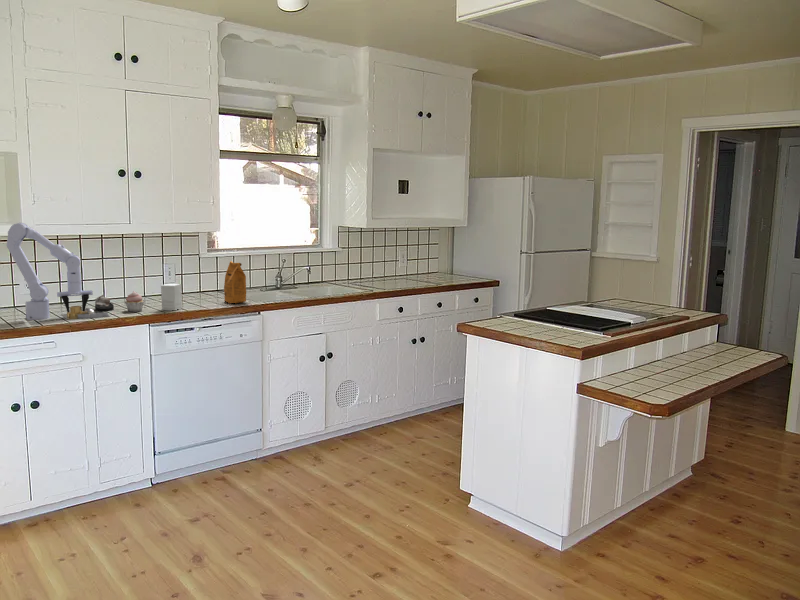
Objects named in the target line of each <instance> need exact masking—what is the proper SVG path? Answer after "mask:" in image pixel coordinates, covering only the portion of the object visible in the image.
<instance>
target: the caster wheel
mask: <svg viewBox="0 0 800 600" xmlns="http://www.w3.org/2000/svg"><path fill="white" fill-rule="evenodd" d="M94 304H95V305H94V312H101V311H102V312H111V311H115V310H114V309H115V306H114V303H112V302H111V298H109V297H105V295H104V294H102V295H100V296H98V297H96V298H95V299H94Z"/></svg>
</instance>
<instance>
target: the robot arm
mask: <svg viewBox="0 0 800 600" xmlns="http://www.w3.org/2000/svg"><path fill="white" fill-rule="evenodd" d="M24 239H29V240H30V239H31V240H34V241H35V242H37V243H39V244H40V245H41V246H43V247H44V248H46V249H48V250H49V253H50V255H51V256H53V258H56V259H57V260H59V262H62V263H64V264H65V266H66V267H67V268H66V269H67V271H66V277H67V280H66V281H67V282H66V283H67V291H59V292H56V297H57V298H61V299H62V302H63V303H64V306H65V310H66V313H67V312H70V299H69V297H77V296H80V297H81V303H82V305H81V307H82V311H85V309H86V308H87V304H88V300H89V298H90V296H93V295H94V294H93V292H94V291H93V290H83V289H82V272H81V263H82V262H81V261H82V260H81V258H80V257H79V256H78V255H77V254H75V252H71V251H70V250H68V249H67V248H66V246H65V245H63V244H62V245H61V244H60V243H58V244H55V243H53V242H52V241H51V240H49V239H48V238H47V237H46V236H44V235H43V234H41V232H39V231H38V230H36V229H34V228H33V227H32V226H29V225H28V224H26V223H24V222H16V223H14V224H12V225H11V226H10V228H9V229H8V231H7V240H6V249H8V251H9V253H10V255H11V257H12V258H13V260H14V263H15V264H16V266H17V267H18V270H19V271H20V273H21V274H22V277H23V278H24V280H25V282H26V285H27V288H28V290H29V297H30V301H29V300H28V301H25V302H24V303H25V304H24V305H25V306H24V307H25V319H26V320H28V321H32V320H48V319H50V318H51V317H50V316H51V314H50V298H48V297H47V296H48V295H49V288H48V286H46V285H45V284H43V282H42V280H40V278H39V277H38V276H37V273H36V272H35V269H34V268H33V266H32V264H31V263H30V261H29V259H28V257H27V256H26V253H25V252H24V250H23V249H22V243H23V241H24Z"/></svg>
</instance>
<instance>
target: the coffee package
mask: <svg viewBox="0 0 800 600" xmlns="http://www.w3.org/2000/svg"><path fill="white" fill-rule="evenodd" d="M242 265H243V264H242V263H241V262H233V261H232V260H231V261H229V263H228V266H227V269H226V271H225V276H224V284H223V285H224V287H223V290H224V291H223V292H224V293H223V294H224V298H223V299H224V302H225V301H226V302H225V303H227V302H228V303H227V304H231V303H235V304H241V303H245V302H247V276H246V274H245V272H244V270H243V268H242V267H241V266H242Z"/></svg>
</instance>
